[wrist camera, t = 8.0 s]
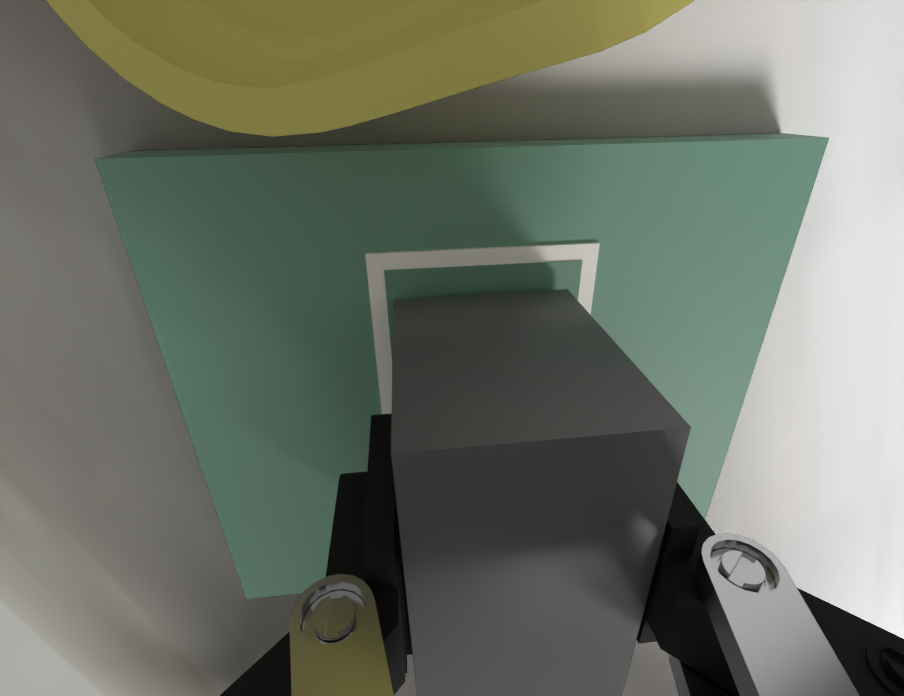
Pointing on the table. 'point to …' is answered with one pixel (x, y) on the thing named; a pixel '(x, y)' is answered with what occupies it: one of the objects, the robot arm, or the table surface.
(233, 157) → the board
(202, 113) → the plastic component
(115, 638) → the table surface
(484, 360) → the block
